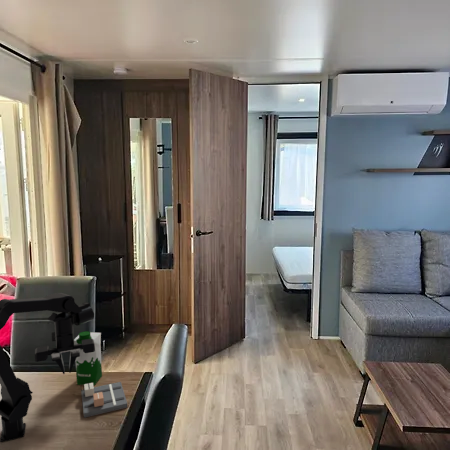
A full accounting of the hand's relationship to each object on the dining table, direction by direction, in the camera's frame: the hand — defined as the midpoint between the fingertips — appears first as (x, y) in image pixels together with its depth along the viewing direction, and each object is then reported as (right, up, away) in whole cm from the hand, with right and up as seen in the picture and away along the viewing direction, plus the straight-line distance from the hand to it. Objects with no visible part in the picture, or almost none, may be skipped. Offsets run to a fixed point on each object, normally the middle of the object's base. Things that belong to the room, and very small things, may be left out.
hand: (67, 373), depth 134 cm
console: (+12, -11, +3) cm, 16 cm away
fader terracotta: (+12, -9, -2) cm, 15 cm away
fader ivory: (+6, -9, +4) cm, 11 cm away
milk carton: (+2, -9, +16) cm, 19 cm away
